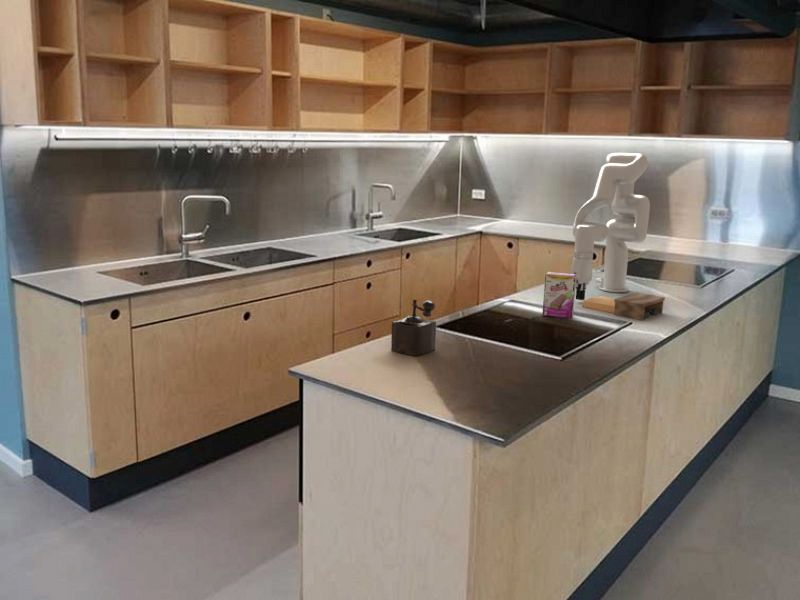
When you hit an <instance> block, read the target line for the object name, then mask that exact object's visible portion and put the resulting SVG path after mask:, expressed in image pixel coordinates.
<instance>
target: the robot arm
mask: <svg viewBox="0 0 800 600" xmlns="http://www.w3.org/2000/svg"><path fill="white" fill-rule="evenodd" d="M648 163H649V162H648V158H647V155H645V154H643V153H639V152H638V153H637V152H613V153H611V152H610V153H609V154H608V155H607V156H606V157H605V164H603V165H602V166H601V168H600V170H599V173H598V175H597V180H596V184H595V187H594V191H593V194H592V197H591V198H590V199H588V200H587V201H586V202H585V203H584V204H583V205H582V206H581V207H580V208H579V210H578V211H577V213H576V214H575V215H576V216H575V218H574V222H573V224H572V225H573V226H572V235H573V237H574V249H573V250H574V251H573V252H574V253H573V259H572V262H571V266H570V267H571V268H570V274H576V275H577V276H576V288H575V300H579V301H583V300H586V299H585V297H586V290H587V286H588V285H589V284H590V282H591V281H592V280H593V279H592V278H593V268H594V265H593V264H594V263H593V260H594V259H593V258H594V250H595V249H594V248H595V242H598V243H601V242H604V241H605V244H606V246H605V258H604V268H603V269H604V271H603V278H600V277H597V278H596V279H595V283H597V284H600V285H598V286H599V288H598V289H599V290H600V291H603V292H607V293H627V292H629V290H630V289H629V287H628V286H626V281H627V271H628V259H629V249H628V246H627V244H626V243H627V242H628V243H637V244H641V243H643V242H644V241H645V240H646V237H647V233H648V226H649V219H650V209H651V207H650V206H651V203H650V199H649V198H648V197H647V196H646V195H644V194H635V193H634V191H635V183H636V181H637V180H638V179H639V178H640V177H641V176H642V175H643V174H644V173H645V171H646V170H647V168H648ZM610 205H611V212H612V213H613V215H615V216H621V217H633V218H634V219H628V218H627V219H626V218H612V219H609V220H608V221H607V223H605V224H604V223H600V222H592V221H586V219H587V218H588V217H589V216H590V214H592V213H593V212H596V210H600V209H602V208H605V207H607V206H610Z"/></svg>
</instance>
